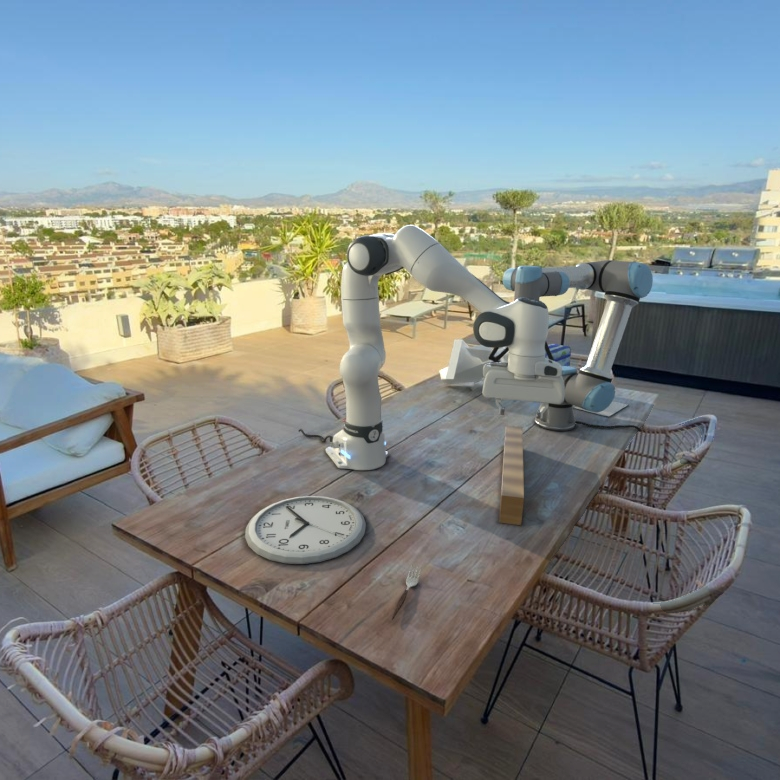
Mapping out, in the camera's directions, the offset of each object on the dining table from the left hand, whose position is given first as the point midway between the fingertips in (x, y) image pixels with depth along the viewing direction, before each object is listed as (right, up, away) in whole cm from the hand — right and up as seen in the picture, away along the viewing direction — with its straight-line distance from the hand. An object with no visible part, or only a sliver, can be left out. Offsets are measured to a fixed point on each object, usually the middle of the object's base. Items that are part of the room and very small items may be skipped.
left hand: (520, 416), depth 135 cm
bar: (+3, -21, +25) cm, 32 cm away
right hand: (+8, +9, +34) cm, 36 cm away
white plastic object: (+8, +6, +109) cm, 109 cm away
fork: (-30, -36, -26) cm, 54 cm away
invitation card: (+58, -1, +92) cm, 108 cm away
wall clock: (-55, -28, -3) cm, 61 cm away
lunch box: (+42, +7, +117) cm, 124 cm away
